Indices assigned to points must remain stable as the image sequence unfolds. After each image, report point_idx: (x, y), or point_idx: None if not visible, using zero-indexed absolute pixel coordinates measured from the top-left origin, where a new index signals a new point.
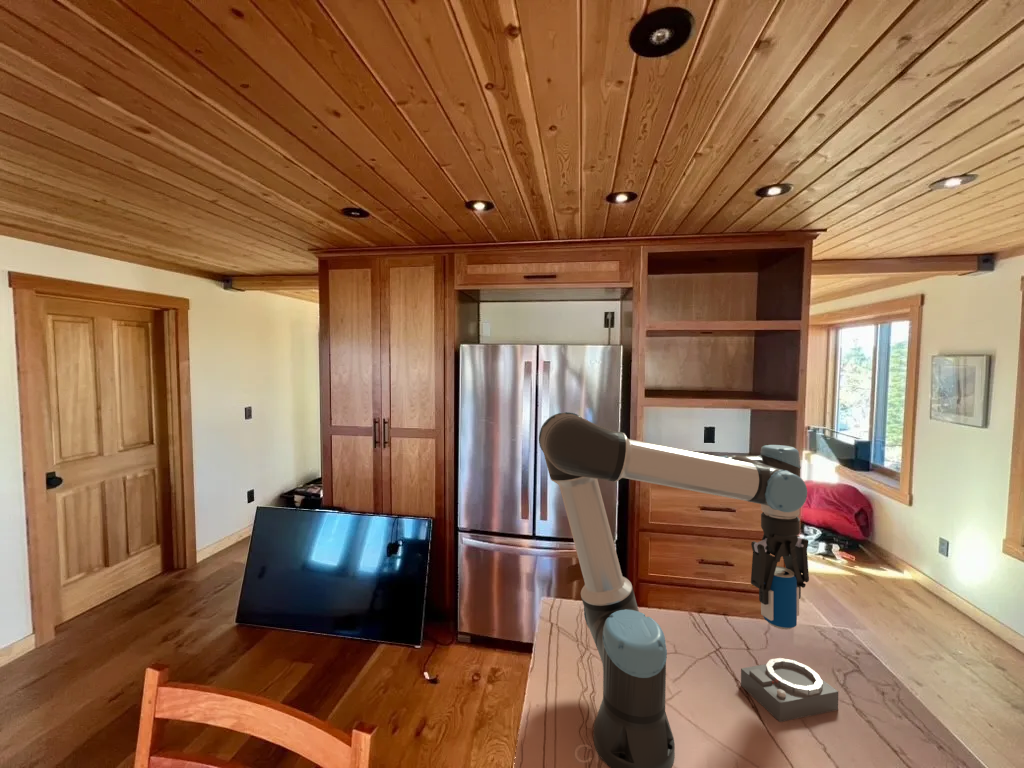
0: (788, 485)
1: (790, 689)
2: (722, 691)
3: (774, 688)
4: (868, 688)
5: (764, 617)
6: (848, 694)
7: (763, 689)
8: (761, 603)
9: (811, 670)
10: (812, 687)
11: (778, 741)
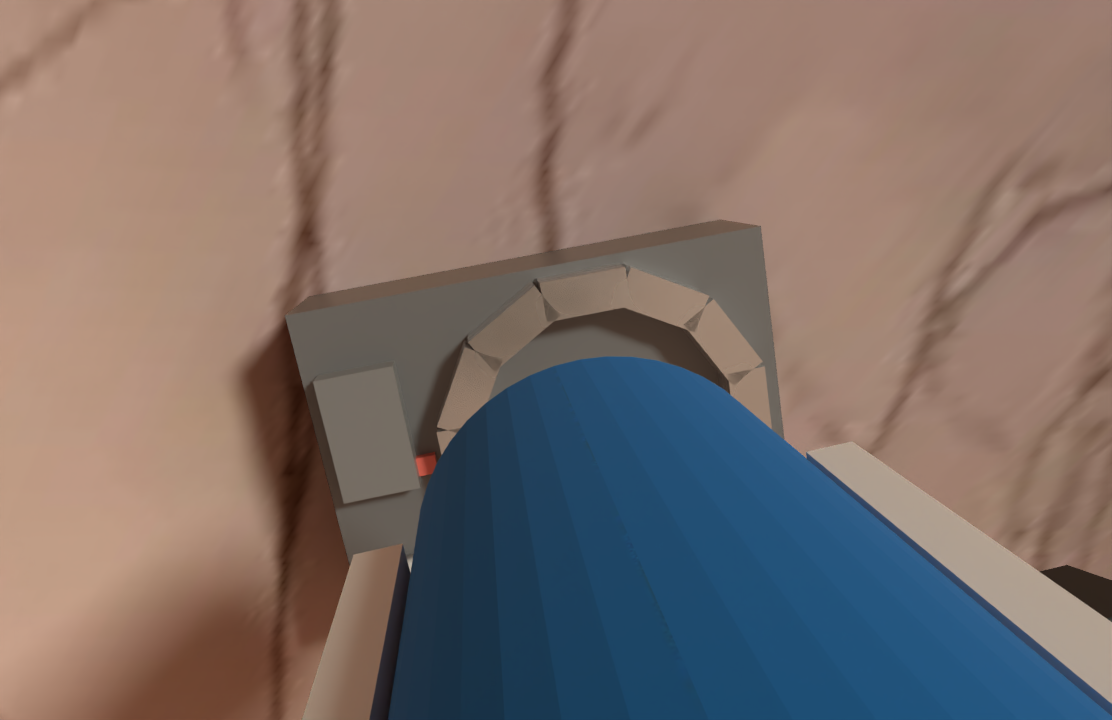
0: None
1: None
2: (156, 345)
3: (409, 518)
4: (1058, 341)
5: (419, 518)
6: (908, 385)
7: (337, 511)
8: (327, 661)
9: (755, 413)
10: None
11: (295, 689)
